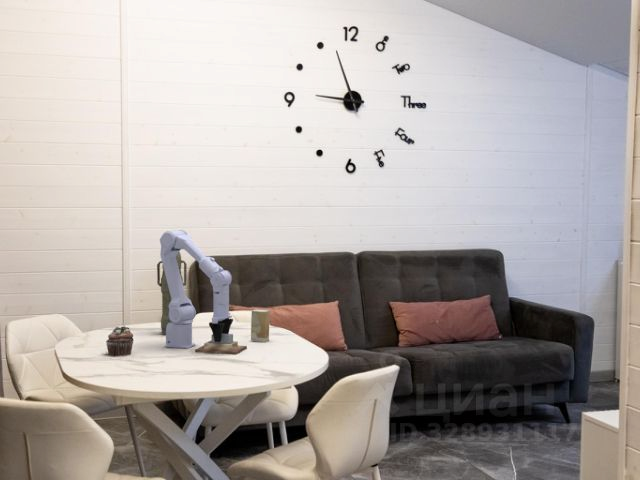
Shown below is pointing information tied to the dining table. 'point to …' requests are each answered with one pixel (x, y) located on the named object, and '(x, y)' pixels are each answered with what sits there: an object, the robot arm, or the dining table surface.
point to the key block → (224, 339)
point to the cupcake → (120, 342)
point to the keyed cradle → (221, 348)
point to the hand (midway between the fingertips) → (221, 339)
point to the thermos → (166, 293)
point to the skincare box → (260, 325)
